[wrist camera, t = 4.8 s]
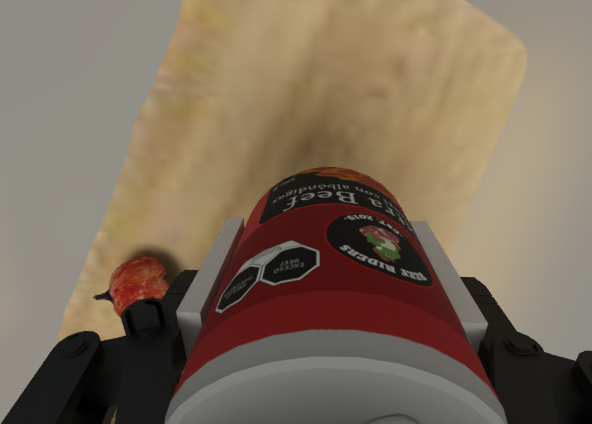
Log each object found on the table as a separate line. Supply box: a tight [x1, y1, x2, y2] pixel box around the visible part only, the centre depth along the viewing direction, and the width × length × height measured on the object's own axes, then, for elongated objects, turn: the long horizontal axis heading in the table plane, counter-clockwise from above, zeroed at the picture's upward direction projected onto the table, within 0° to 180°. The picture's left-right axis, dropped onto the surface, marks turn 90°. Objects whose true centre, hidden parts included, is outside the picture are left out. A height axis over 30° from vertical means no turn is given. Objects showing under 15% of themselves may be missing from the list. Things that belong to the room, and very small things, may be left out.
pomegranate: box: [93, 256, 171, 318], centre depth 39 cm, size 7×7×10 cm
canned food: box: [164, 167, 508, 424], centre depth 12 cm, size 8×8×11 cm
